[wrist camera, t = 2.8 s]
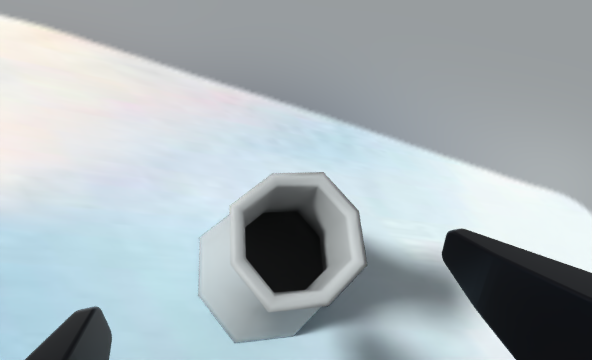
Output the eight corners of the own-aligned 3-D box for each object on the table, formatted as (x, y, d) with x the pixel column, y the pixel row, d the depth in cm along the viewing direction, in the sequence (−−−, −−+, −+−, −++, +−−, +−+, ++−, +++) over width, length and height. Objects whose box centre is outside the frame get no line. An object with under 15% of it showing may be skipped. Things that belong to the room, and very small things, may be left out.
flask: (300, 184, 18) (362, 72, 9) (353, 303, 16) (505, 325, 7) (177, 228, 16) (86, 143, 7) (222, 371, 14) (182, 533, 5)
